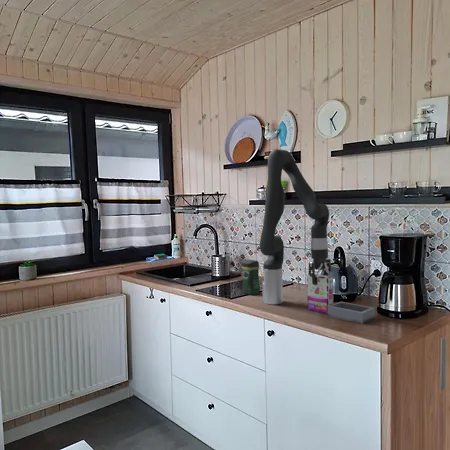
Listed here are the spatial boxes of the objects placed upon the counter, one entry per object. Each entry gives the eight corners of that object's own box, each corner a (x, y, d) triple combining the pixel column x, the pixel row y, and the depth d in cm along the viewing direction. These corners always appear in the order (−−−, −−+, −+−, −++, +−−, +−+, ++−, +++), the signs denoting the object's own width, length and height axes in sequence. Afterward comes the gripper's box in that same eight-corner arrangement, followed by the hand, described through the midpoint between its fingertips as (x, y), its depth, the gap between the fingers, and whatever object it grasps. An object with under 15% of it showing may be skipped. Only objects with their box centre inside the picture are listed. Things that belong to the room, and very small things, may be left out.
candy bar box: (334, 311, 189) (333, 276, 188) (328, 314, 185) (327, 277, 184) (313, 307, 197) (312, 273, 195) (307, 309, 193) (306, 274, 192)
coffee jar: (262, 293, 228) (261, 259, 226) (251, 296, 223) (250, 261, 222) (250, 290, 235) (249, 258, 234) (239, 293, 230) (239, 259, 229)
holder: (327, 316, 182) (327, 306, 182) (340, 311, 189) (340, 301, 189) (362, 323, 170) (362, 313, 170) (374, 318, 177) (374, 307, 177)
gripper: (321, 245, 196) (322, 279, 197) (303, 249, 187) (304, 284, 188) (335, 246, 191) (336, 281, 192) (317, 250, 181) (318, 286, 182)
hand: (320, 283), depth 190 cm, fingers open, 8 cm apart
